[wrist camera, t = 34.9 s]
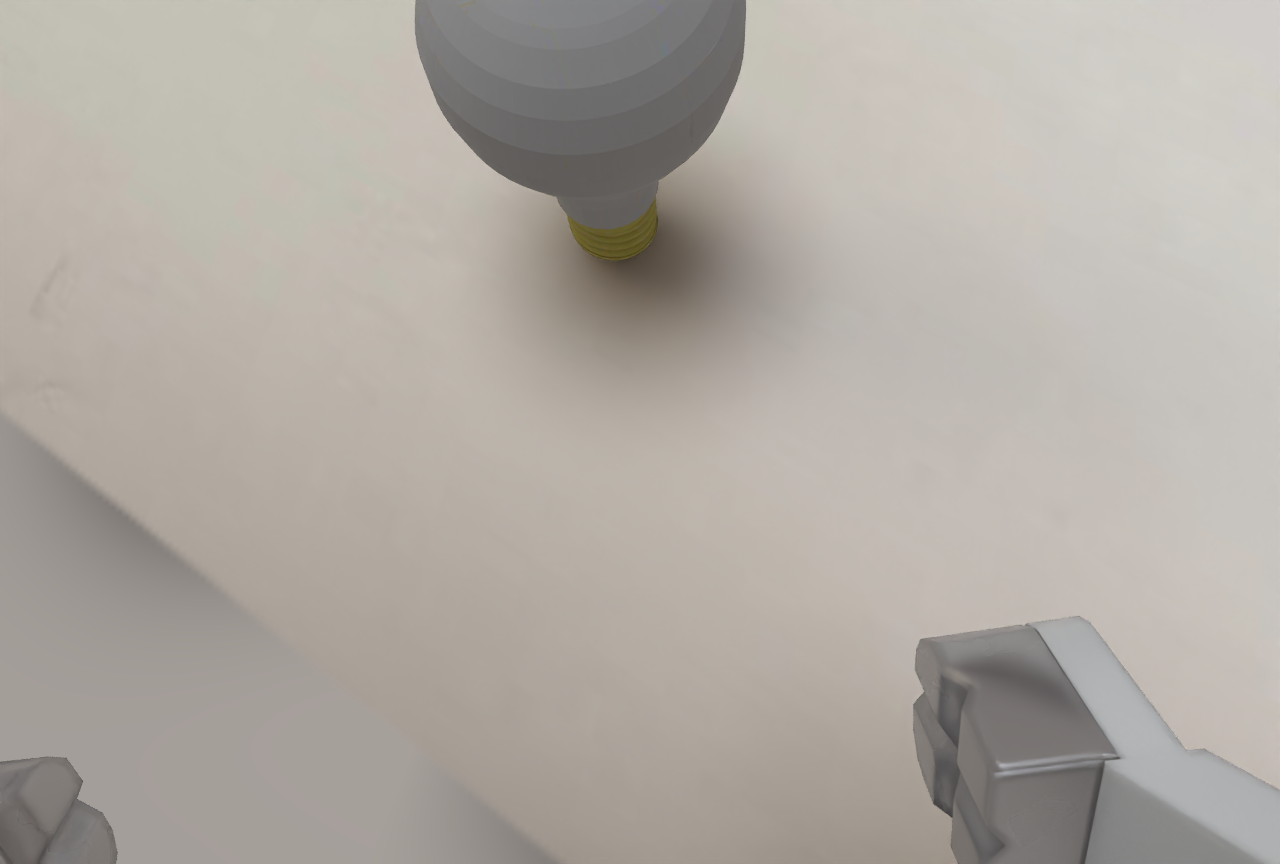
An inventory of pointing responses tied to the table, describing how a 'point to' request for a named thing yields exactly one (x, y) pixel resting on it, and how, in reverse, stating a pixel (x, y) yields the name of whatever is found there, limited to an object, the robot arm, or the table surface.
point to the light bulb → (585, 97)
